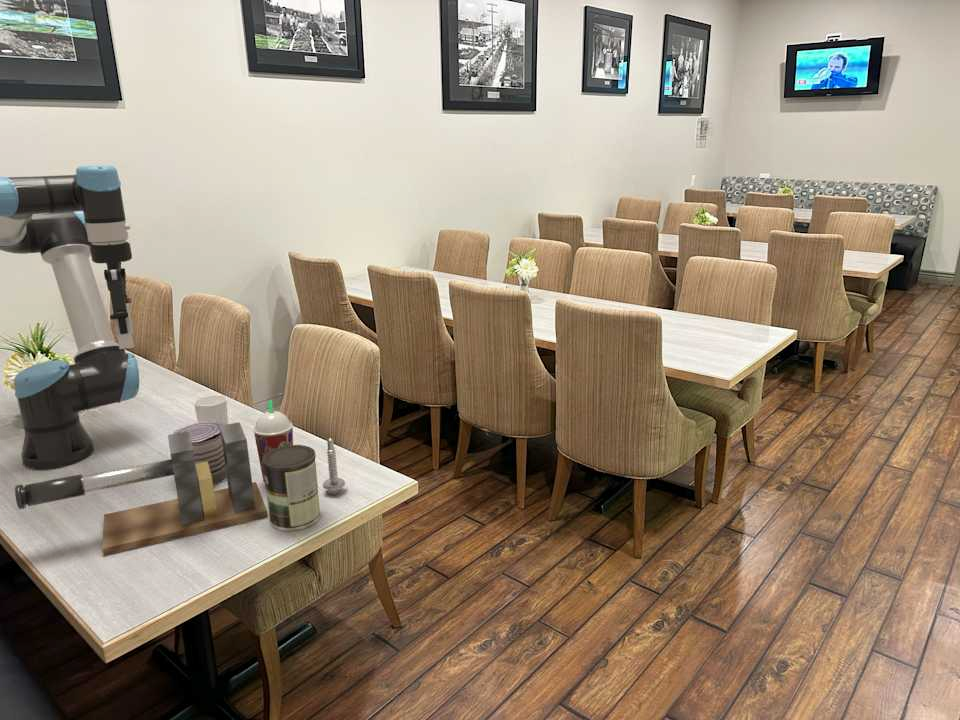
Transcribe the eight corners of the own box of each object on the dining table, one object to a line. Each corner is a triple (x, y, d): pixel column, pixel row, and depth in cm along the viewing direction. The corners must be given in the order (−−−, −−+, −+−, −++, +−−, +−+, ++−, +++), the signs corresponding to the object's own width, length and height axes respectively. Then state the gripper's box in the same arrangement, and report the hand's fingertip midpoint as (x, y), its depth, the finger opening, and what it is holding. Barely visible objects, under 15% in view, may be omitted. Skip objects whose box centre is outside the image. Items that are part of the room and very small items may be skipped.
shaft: (19, 513, 124) (13, 491, 123) (22, 502, 128) (17, 481, 126) (184, 479, 136) (181, 459, 134) (183, 470, 140) (180, 450, 138)
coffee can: (264, 533, 135) (256, 468, 131) (275, 506, 145) (267, 445, 140) (317, 530, 136) (311, 465, 131) (324, 504, 145) (318, 443, 141)
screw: (343, 497, 148) (321, 497, 148) (347, 486, 153) (325, 486, 153) (339, 442, 144) (316, 442, 144) (343, 433, 149) (321, 433, 149)
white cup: (236, 430, 184) (231, 395, 181) (222, 442, 176) (217, 406, 173) (208, 429, 185) (203, 394, 181) (193, 441, 177) (188, 405, 174)
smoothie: (305, 477, 157) (297, 395, 151) (284, 494, 150) (274, 409, 144) (274, 472, 160) (265, 392, 154) (252, 488, 152) (241, 405, 146)
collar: (204, 518, 138) (198, 480, 135) (200, 499, 145) (194, 463, 142) (217, 515, 139) (212, 477, 136) (212, 497, 146) (207, 461, 143)
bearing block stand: (103, 555, 128) (86, 474, 123) (105, 520, 140) (89, 445, 135) (267, 516, 141) (258, 441, 135) (256, 487, 153) (247, 417, 147)
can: (225, 487, 153) (218, 438, 150) (171, 491, 152) (163, 442, 148) (234, 464, 164) (227, 418, 160) (184, 468, 162) (176, 421, 159)
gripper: (129, 248, 134) (147, 352, 140) (129, 234, 155) (144, 325, 161) (86, 251, 130) (106, 357, 137) (91, 236, 152) (108, 329, 158)
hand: (126, 340), depth 149 cm, fingers open, 13 cm apart
